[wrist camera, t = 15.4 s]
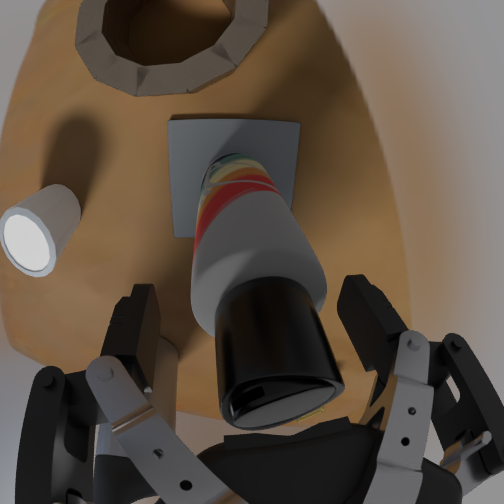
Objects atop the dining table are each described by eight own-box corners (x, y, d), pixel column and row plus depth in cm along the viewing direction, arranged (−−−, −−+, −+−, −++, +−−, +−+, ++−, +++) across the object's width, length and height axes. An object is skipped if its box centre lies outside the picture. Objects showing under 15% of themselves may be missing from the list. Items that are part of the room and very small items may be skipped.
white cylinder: (25, 194, 21) (-12, 225, 15) (68, 166, 20) (28, 193, 15) (53, 246, 25) (25, 285, 19) (97, 226, 24) (69, 266, 18)
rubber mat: (286, 233, 27) (287, 235, 27) (175, 235, 26) (174, 237, 26) (298, 122, 22) (300, 123, 21) (168, 120, 20) (167, 120, 20)
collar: (251, 93, 20) (263, 93, 15) (105, 102, 18) (73, 108, 13) (259, -29, 13) (272, -59, 8) (114, -19, 11) (90, -41, 6)
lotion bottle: (231, 137, 21) (299, 335, 5) (279, 178, 24) (404, 385, 7) (188, 187, 23) (151, 428, 6) (237, 223, 26) (280, 450, 9)
